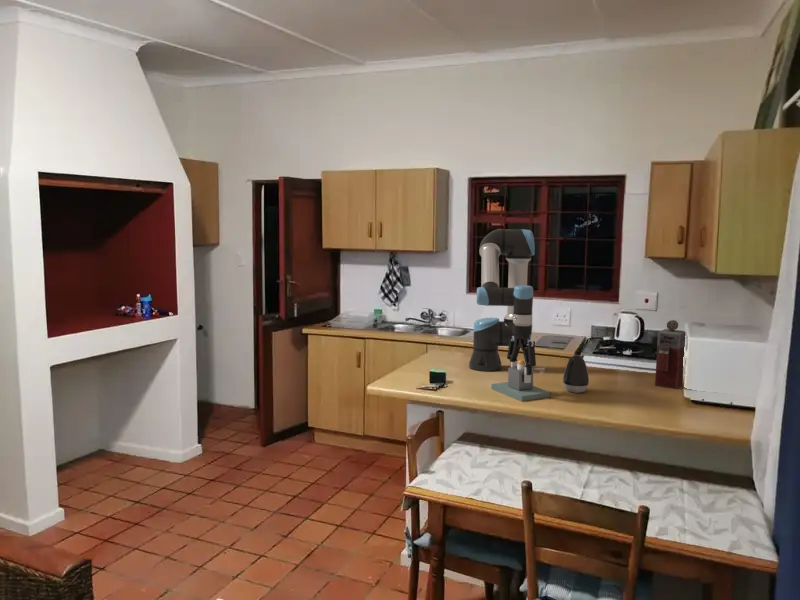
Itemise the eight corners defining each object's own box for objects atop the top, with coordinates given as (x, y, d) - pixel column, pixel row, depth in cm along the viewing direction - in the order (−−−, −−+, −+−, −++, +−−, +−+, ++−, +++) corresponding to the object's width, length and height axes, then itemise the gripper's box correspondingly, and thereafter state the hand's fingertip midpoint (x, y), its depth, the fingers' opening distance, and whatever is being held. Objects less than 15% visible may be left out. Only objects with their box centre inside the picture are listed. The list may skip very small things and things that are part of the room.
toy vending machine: (653, 386, 272) (657, 321, 268) (660, 381, 281) (664, 317, 277) (675, 390, 266) (679, 323, 263) (682, 384, 275) (686, 320, 272)
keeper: (491, 388, 266) (492, 356, 264) (518, 384, 272) (519, 353, 271) (521, 401, 248) (522, 367, 247) (550, 396, 255) (551, 363, 253)
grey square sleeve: (508, 386, 262) (508, 367, 261) (522, 384, 265) (522, 365, 264) (518, 390, 255) (519, 370, 255) (532, 388, 259) (533, 368, 258)
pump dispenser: (593, 391, 264) (594, 354, 262) (580, 396, 256) (582, 358, 254) (570, 386, 270) (572, 351, 269) (557, 391, 263) (559, 354, 261)
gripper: (499, 321, 264) (497, 375, 267) (531, 329, 246) (529, 387, 249) (513, 319, 268) (512, 373, 271) (547, 327, 249) (544, 385, 252)
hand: (520, 380), depth 260 cm, fingers open, 8 cm apart
